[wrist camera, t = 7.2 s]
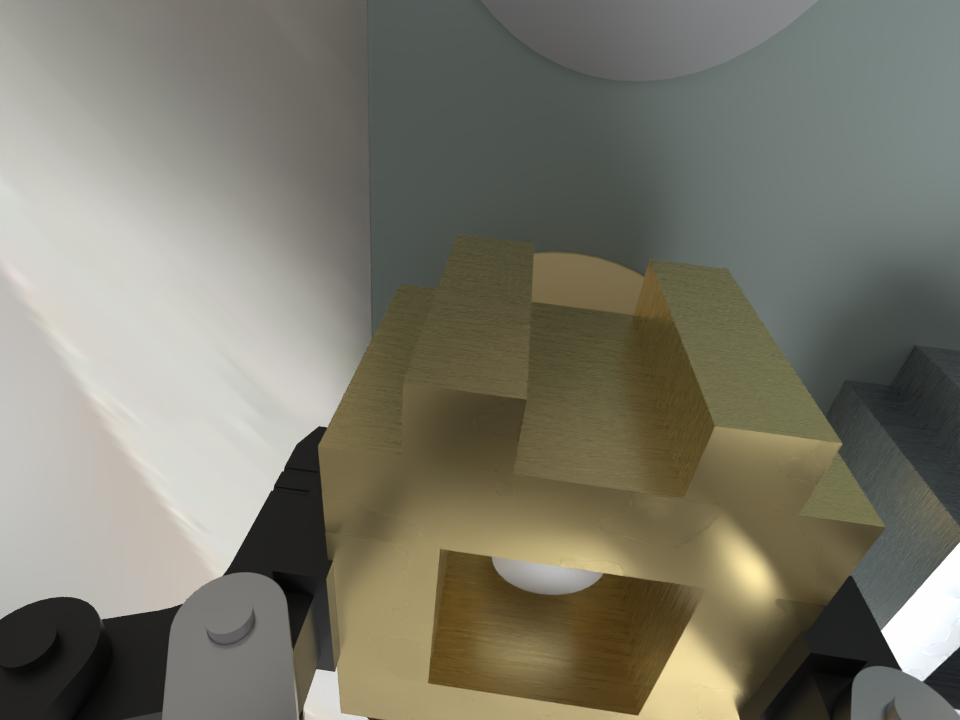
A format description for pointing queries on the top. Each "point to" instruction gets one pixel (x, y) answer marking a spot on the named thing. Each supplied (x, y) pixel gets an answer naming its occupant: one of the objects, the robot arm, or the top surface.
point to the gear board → (682, 164)
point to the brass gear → (578, 500)
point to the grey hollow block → (911, 509)
